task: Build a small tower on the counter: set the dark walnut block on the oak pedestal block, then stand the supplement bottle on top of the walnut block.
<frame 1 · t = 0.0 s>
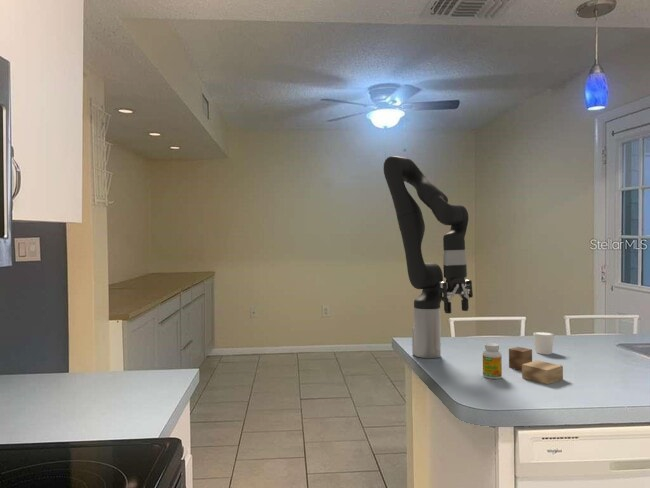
hand: (456, 312, 158), 17 cm above the countertop, tool pointing down, fingers open, 8 cm apart
white cylinder: (543, 353, 171), on the countertop
supplement bottle: (492, 377, 142), on the countertop
walnut block: (520, 367, 151), on the countertop
oak pedestal: (542, 378, 139), on the countertop
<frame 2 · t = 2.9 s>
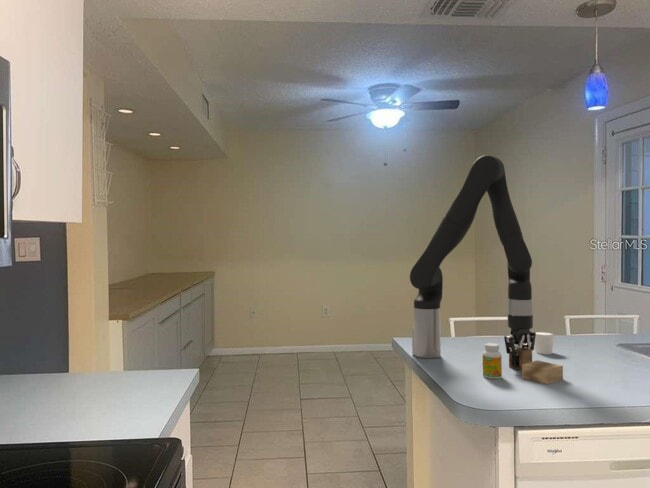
hand: (520, 365, 151), 1 cm above the countertop, tool pointing down, fingers closed on walnut block, 5 cm apart
walnut block: (520, 367, 151), on the countertop, touching gripper
everything else where it was.
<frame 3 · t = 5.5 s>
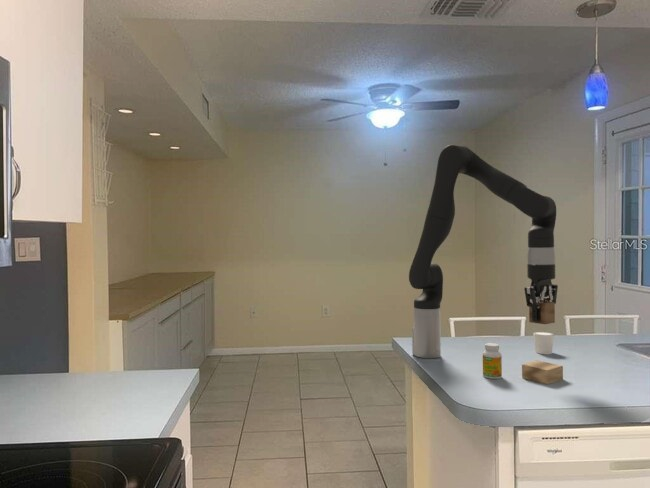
hand: (541, 320, 139), 17 cm above the countertop, tool pointing down, fingers closed on walnut block, 5 cm apart
walnut block: (542, 322, 139), point 17 cm above the countertop, touching gripper
everything else where it was.
when the fingers open (6 cm above the countertop, at t = 8.1 s): walnut block stays where it is, resting on oak pedestal.
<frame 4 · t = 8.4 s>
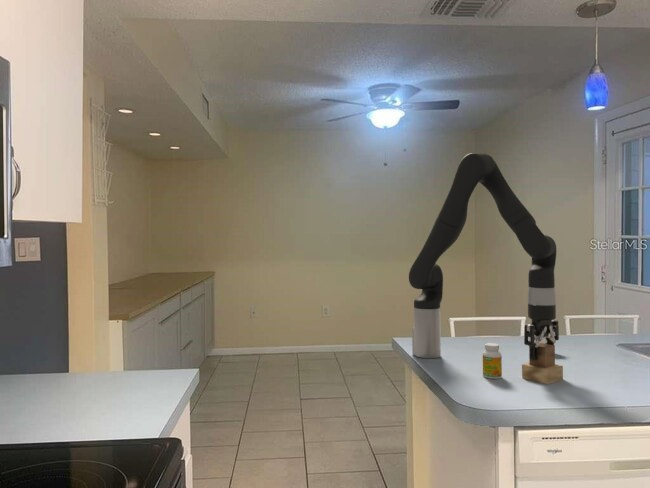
hand: (542, 357, 139), 6 cm above the countertop, tool pointing down, fingers open, 8 cm apart
walnut block: (542, 365, 139), point 4 cm above the countertop, touching oak pedestal
everything else where it was.
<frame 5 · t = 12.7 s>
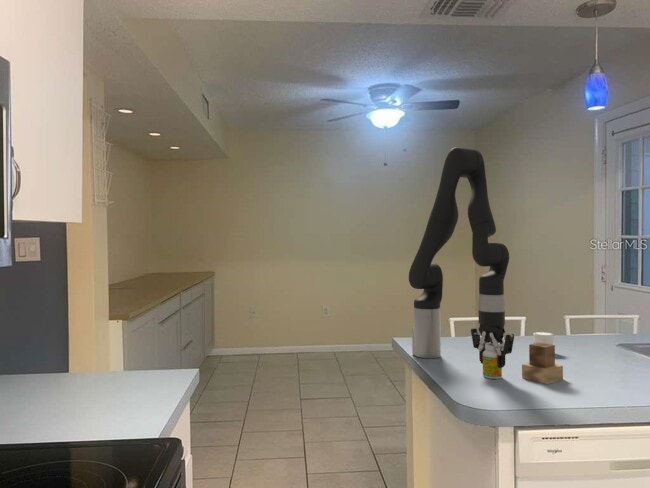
hand: (492, 365, 142), 3 cm above the countertop, tool pointing down, fingers closed on supplement bottle, 5 cm apart
supplement bottle: (492, 377, 142), on the countertop, touching gripper
everything else where it was.
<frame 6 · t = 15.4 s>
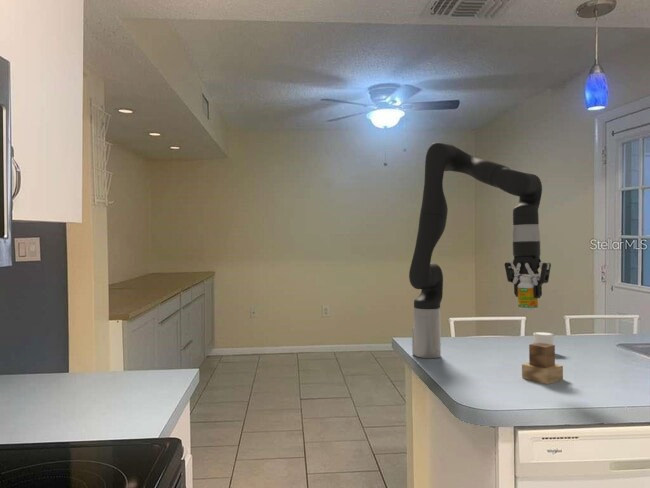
hand: (527, 297, 139), 24 cm above the countertop, tool pointing down, fingers closed on supplement bottle, 5 cm apart
supplement bottle: (527, 309, 139), point 20 cm above the countertop, touching gripper
everything else where it was.
when the fingers open (14 cm above the countertop, at t = 18.3 s): supplement bottle stays where it is, resting on walnut block.
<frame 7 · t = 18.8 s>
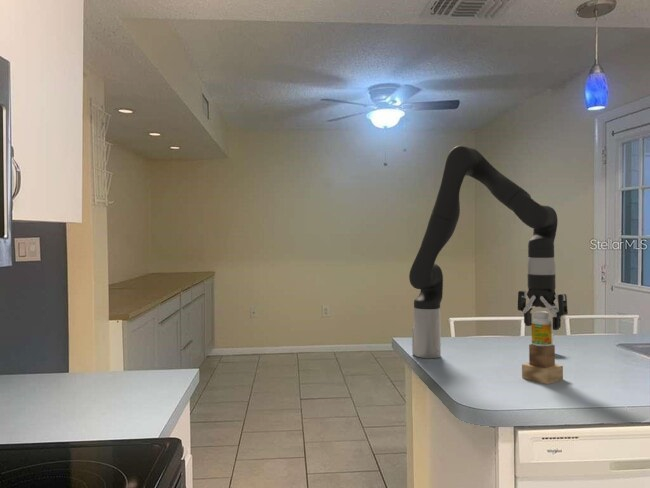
hand: (541, 327, 139), 15 cm above the countertop, tool pointing down, fingers open, 8 cm apart
supplement bottle: (541, 345, 139), point 10 cm above the countertop, touching walnut block
walnut block: (542, 365, 139), point 4 cm above the countertop, touching supplement bottle, oak pedestal
everything else where it was.
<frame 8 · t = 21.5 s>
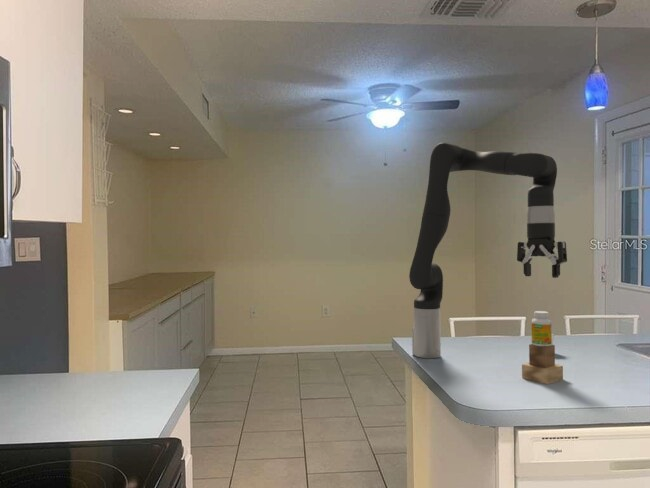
hand: (541, 276, 139), 30 cm above the countertop, tool pointing down, fingers open, 8 cm apart
nothing on the countertop moved.
at the end: walnut block 0.0 cm off-centre on the oak pedestal, point 4.0 cm above the oak pedestal's base; supplement bottle 0.1 cm off-centre on the oak pedestal, point 9.8 cm above the oak pedestal's base; supplement bottle tilted 0° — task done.
